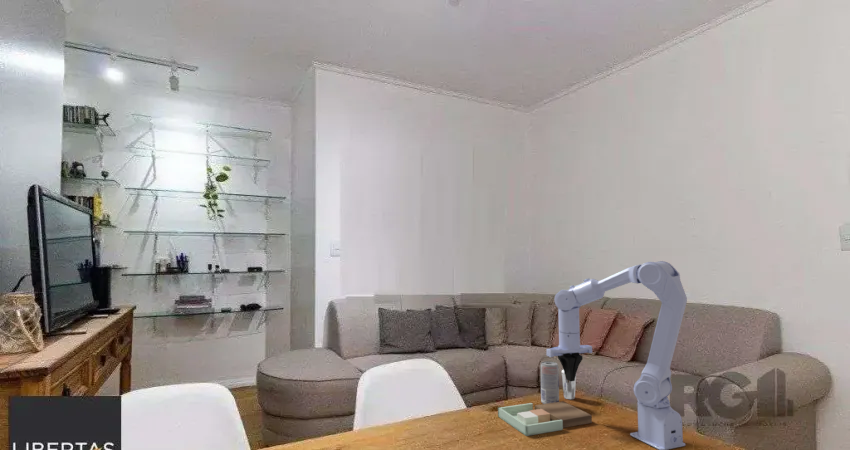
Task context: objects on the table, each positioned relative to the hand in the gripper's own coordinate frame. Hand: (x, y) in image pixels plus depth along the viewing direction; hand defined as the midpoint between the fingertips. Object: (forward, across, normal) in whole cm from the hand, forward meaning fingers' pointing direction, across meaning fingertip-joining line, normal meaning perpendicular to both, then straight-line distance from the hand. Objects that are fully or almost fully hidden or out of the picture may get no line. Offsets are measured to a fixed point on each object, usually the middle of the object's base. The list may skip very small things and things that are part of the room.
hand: (570, 380), depth 124 cm
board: (+10, +3, 0) cm, 10 cm away
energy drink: (+10, -1, -11) cm, 15 cm away
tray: (+10, +14, 0) cm, 17 cm away
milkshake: (+10, -10, -13) cm, 19 cm away
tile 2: (+10, +10, 0) cm, 14 cm away
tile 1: (+10, +15, 0) cm, 17 cm away
